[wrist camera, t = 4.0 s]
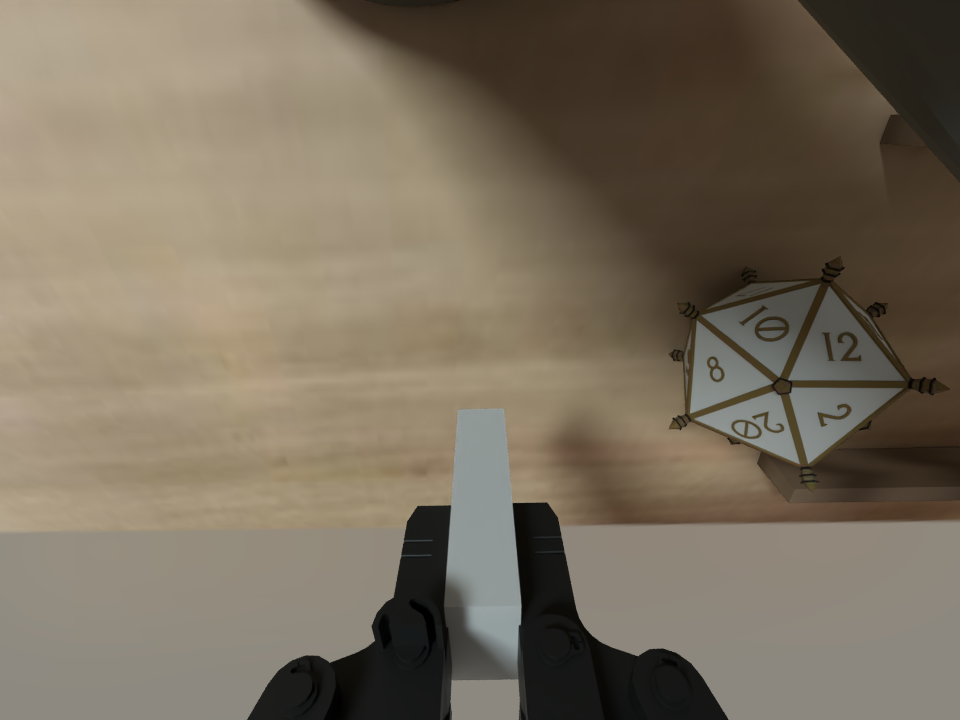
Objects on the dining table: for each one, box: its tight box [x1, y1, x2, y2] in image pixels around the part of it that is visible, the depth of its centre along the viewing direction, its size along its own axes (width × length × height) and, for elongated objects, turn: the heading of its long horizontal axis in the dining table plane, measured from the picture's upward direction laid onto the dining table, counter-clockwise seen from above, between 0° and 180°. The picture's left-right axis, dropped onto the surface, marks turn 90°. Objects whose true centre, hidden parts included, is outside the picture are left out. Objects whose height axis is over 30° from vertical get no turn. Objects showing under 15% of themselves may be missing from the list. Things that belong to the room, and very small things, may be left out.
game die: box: [669, 256, 950, 493], centre depth 18 cm, size 9×8×10 cm
